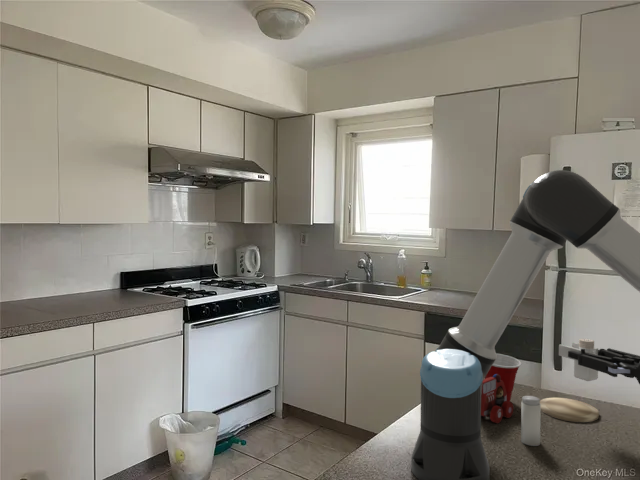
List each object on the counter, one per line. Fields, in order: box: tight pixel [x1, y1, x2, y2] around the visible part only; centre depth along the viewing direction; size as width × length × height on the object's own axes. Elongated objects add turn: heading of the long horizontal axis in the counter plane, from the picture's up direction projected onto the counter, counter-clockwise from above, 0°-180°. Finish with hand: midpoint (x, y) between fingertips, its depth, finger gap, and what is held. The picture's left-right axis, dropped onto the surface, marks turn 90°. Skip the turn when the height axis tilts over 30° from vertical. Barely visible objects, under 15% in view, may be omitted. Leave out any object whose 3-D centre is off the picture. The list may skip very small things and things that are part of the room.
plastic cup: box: [484, 353, 522, 402], centre depth 133 cm, size 11×11×12 cm
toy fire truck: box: [481, 374, 514, 424], centre depth 123 cm, size 7×12×10 cm, turn 130°
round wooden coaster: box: [540, 397, 600, 423], centre depth 126 cm, size 14×14×1 cm
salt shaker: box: [520, 395, 542, 447], centre depth 108 cm, size 4×4×10 cm
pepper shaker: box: [573, 338, 599, 382], centre depth 116 cm, size 4×4×10 cm
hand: (566, 348), depth 120 cm, fingers closed on pepper shaker, 4 cm apart
